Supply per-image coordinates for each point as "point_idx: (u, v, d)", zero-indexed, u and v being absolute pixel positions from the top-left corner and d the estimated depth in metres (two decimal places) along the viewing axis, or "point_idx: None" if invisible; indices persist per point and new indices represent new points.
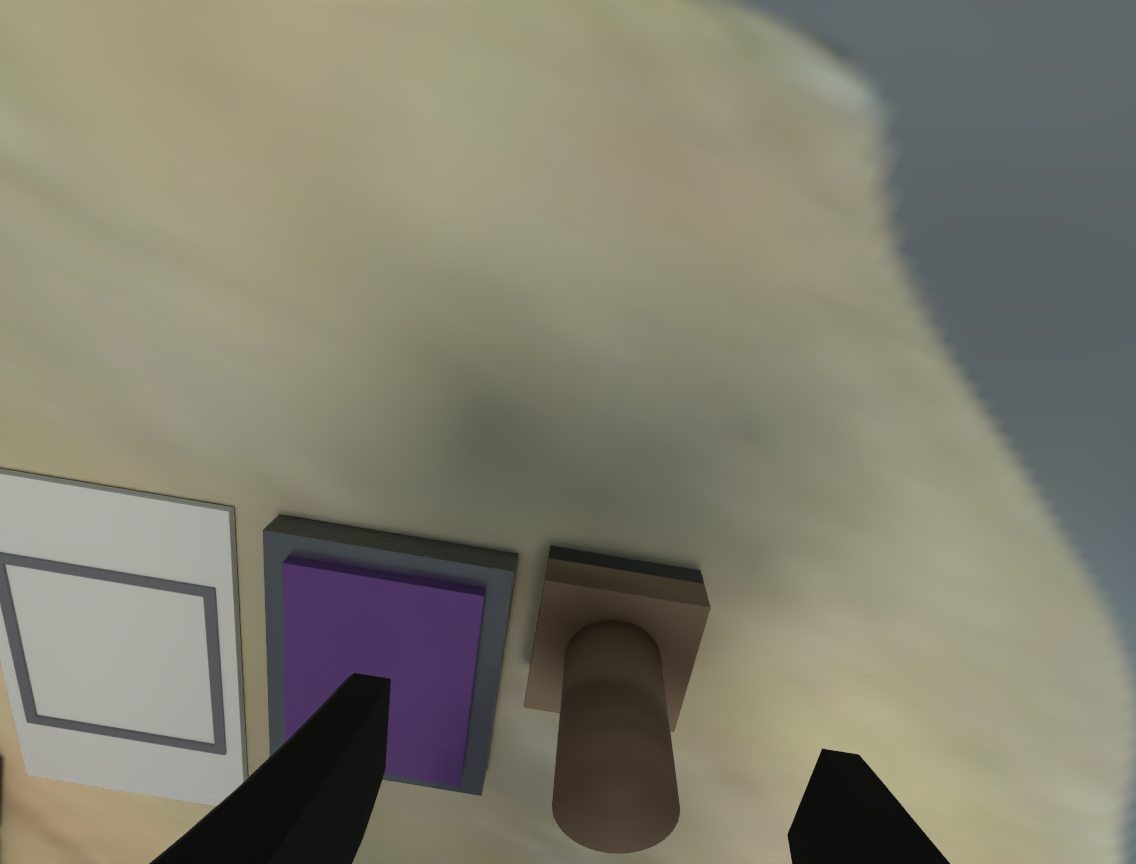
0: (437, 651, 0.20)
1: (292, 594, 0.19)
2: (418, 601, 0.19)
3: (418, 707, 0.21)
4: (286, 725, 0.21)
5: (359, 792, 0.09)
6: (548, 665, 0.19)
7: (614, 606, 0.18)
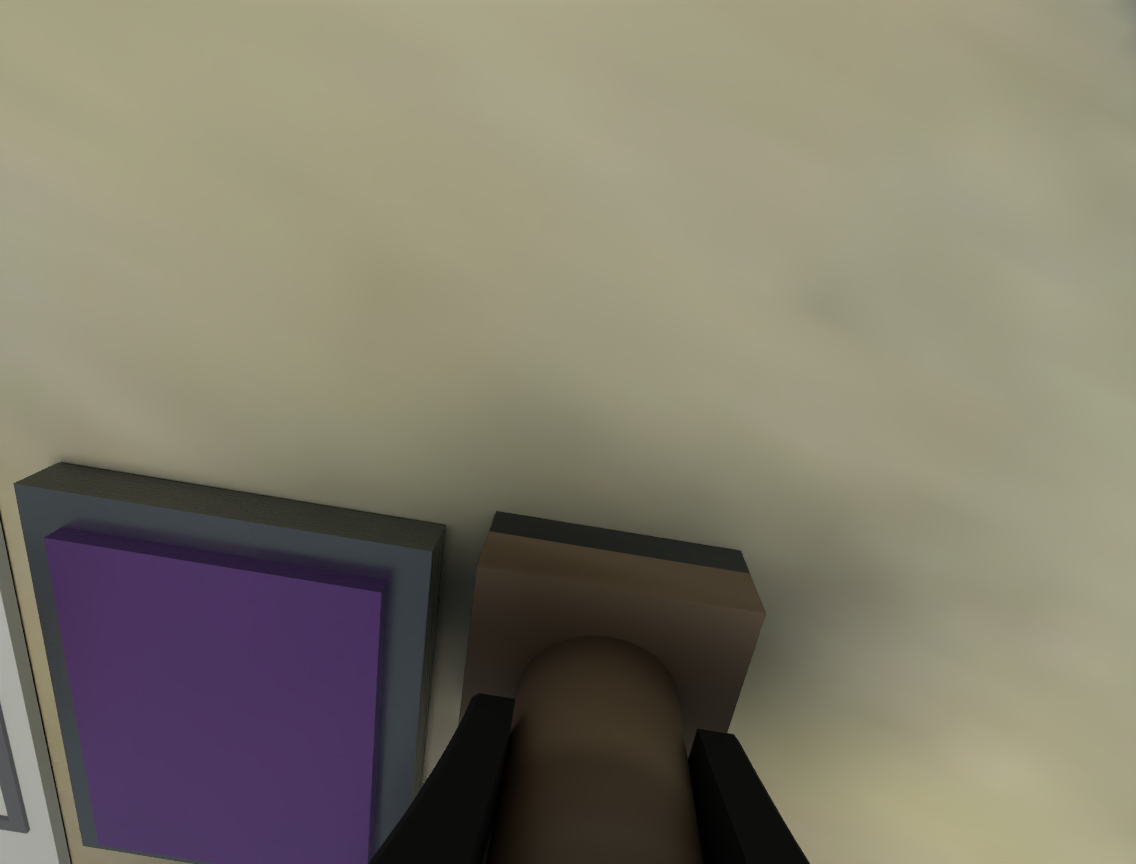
0: (313, 683, 0.12)
1: (69, 591, 0.12)
2: (273, 601, 0.12)
3: (291, 770, 0.13)
4: (91, 797, 0.14)
5: None
6: None
7: (597, 612, 0.10)
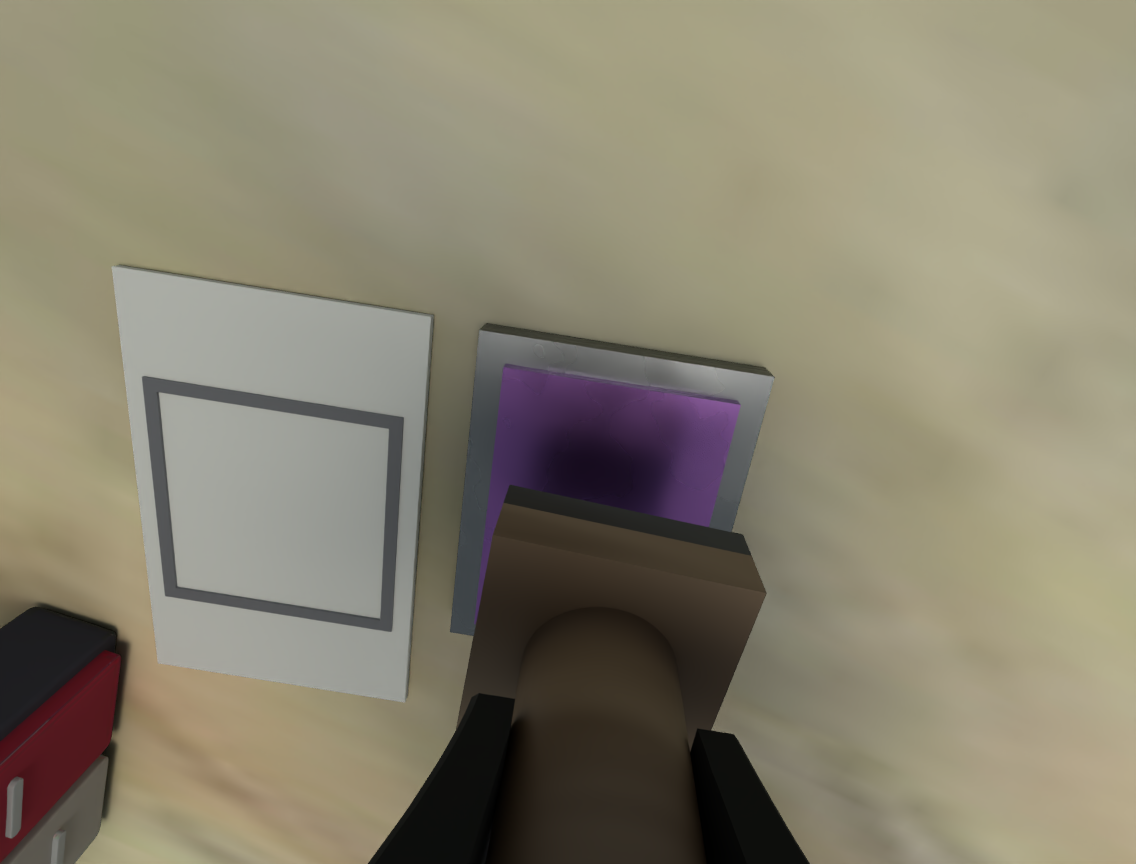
0: (674, 480, 0.17)
1: (510, 409, 0.16)
2: (660, 414, 0.16)
3: None
4: (480, 581, 0.18)
5: None
6: (495, 675, 0.12)
7: (606, 584, 0.11)
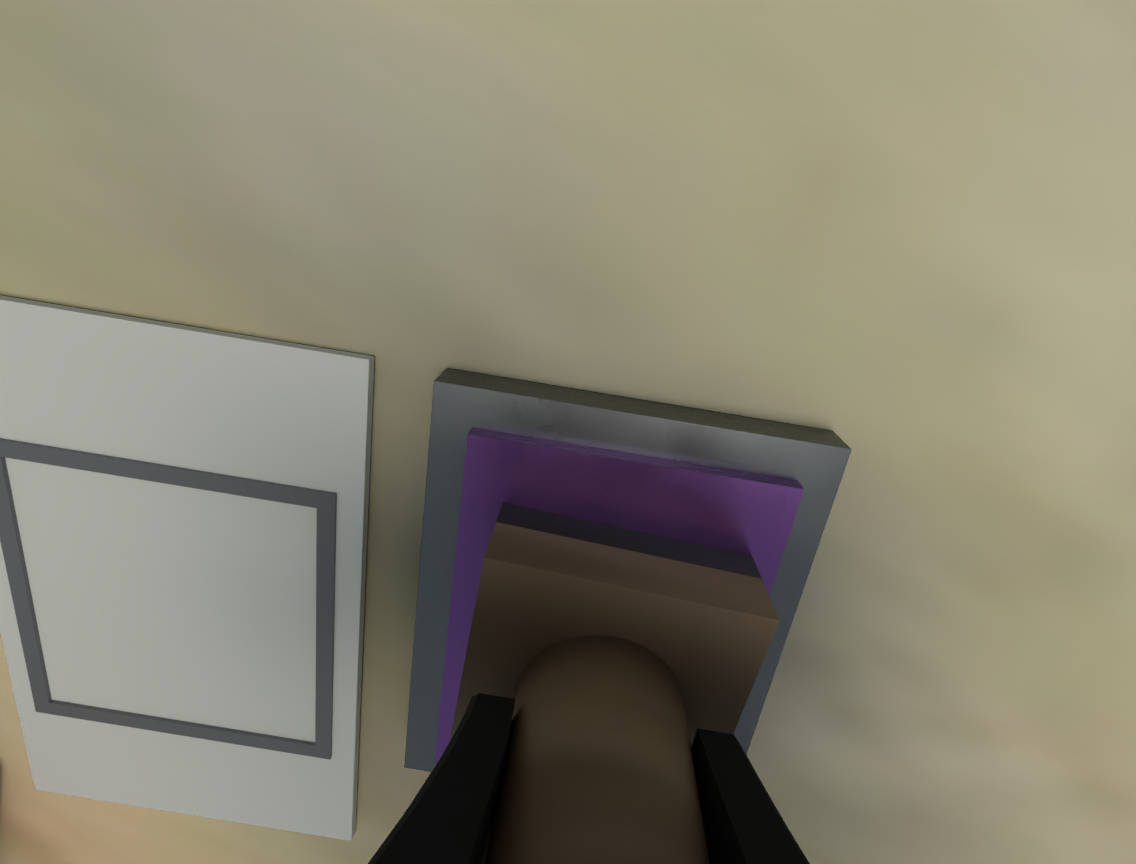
0: None
1: (477, 491, 0.12)
2: (689, 500, 0.12)
3: None
4: (442, 711, 0.14)
5: None
6: None
7: (606, 611, 0.10)
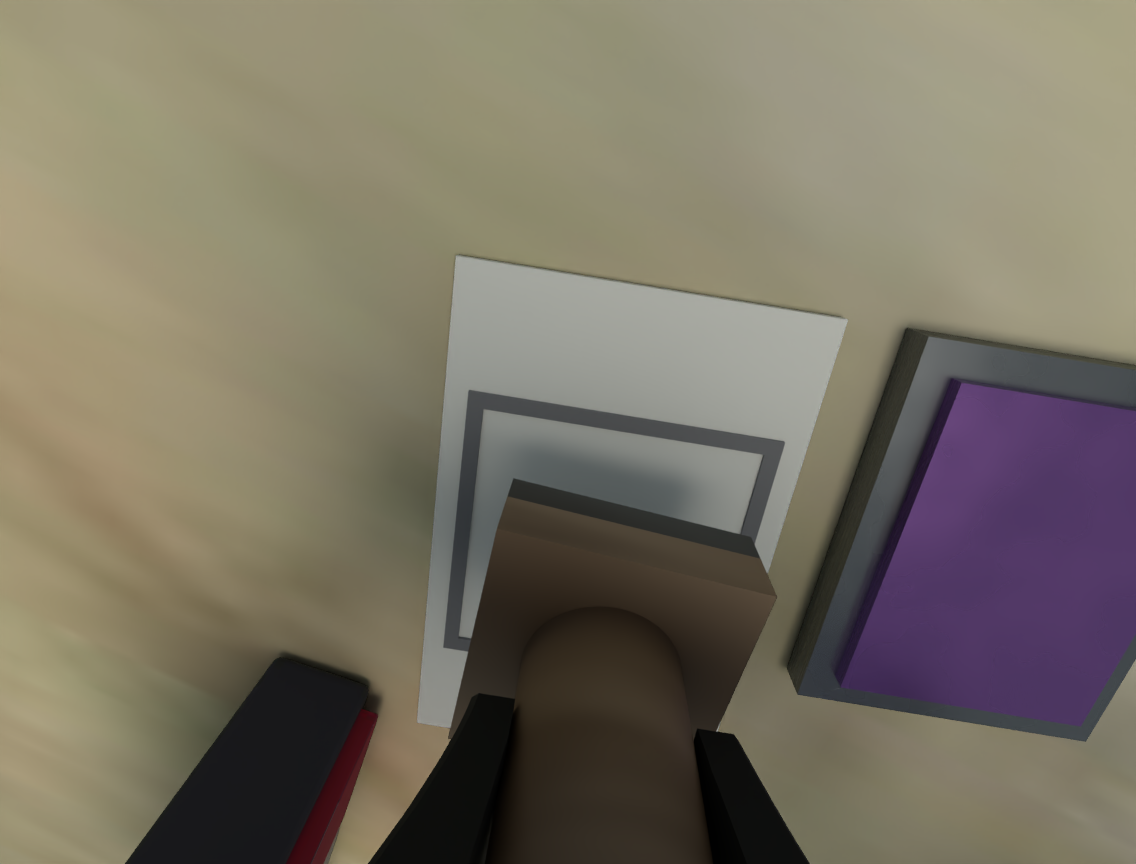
0: None
1: (956, 434, 0.13)
2: None
3: (1073, 608, 0.15)
4: (862, 639, 0.15)
5: None
6: (493, 674, 0.11)
7: (611, 583, 0.11)
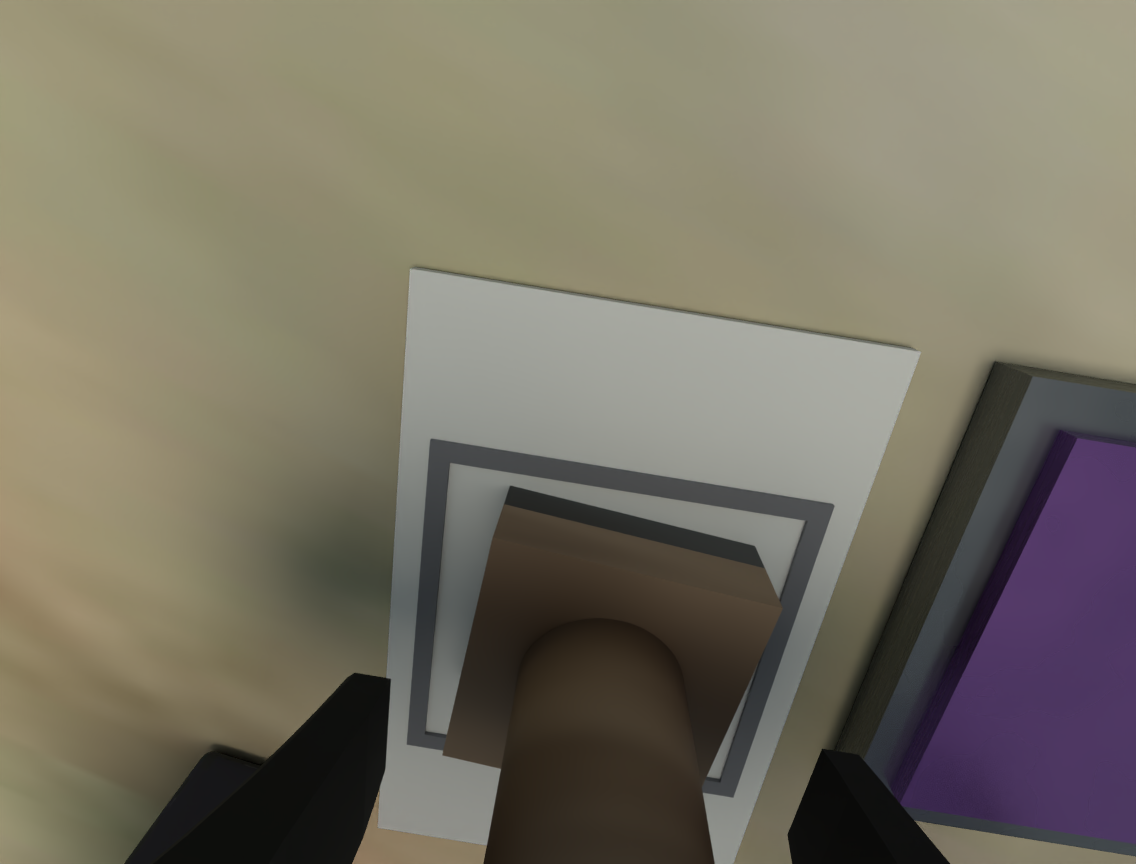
0: None
1: (1065, 503, 0.10)
2: None
3: None
4: (929, 750, 0.12)
5: (359, 792, 0.09)
6: (488, 689, 0.11)
7: (612, 594, 0.10)
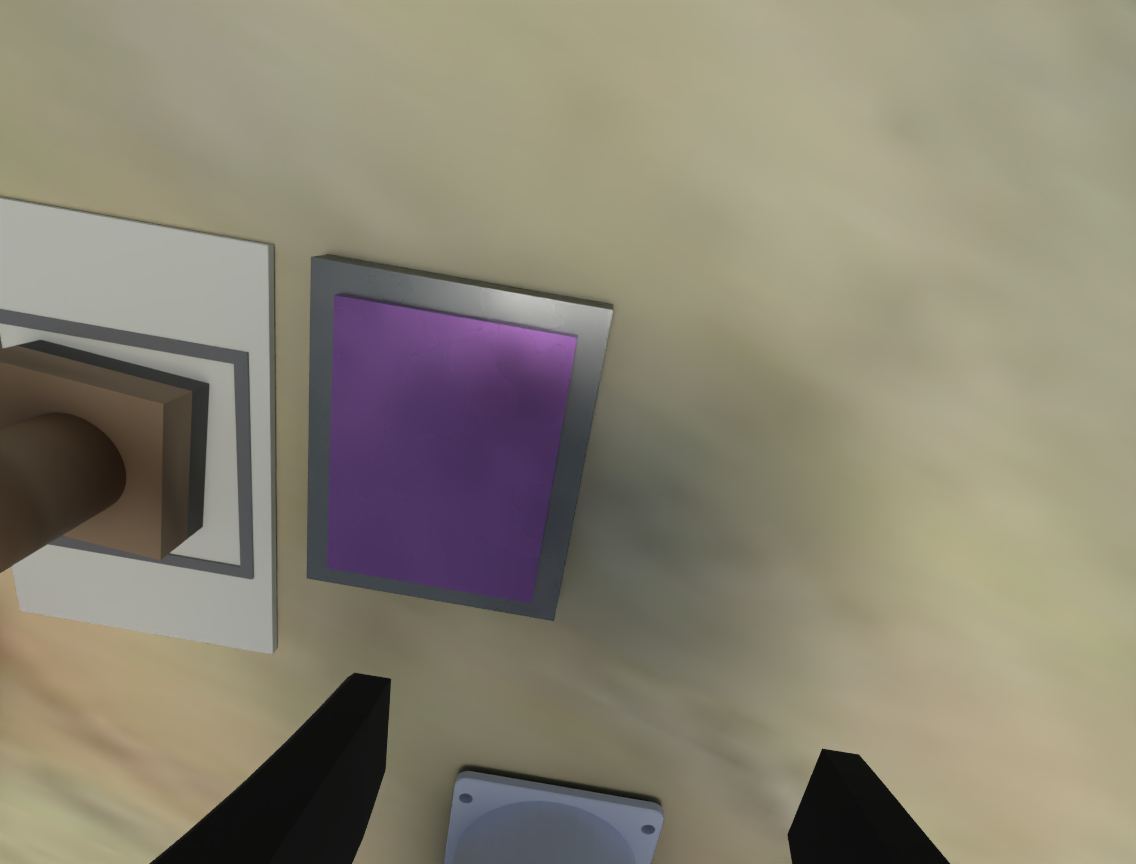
0: (516, 417, 0.17)
1: (344, 340, 0.16)
2: (496, 346, 0.16)
3: (488, 495, 0.17)
4: (329, 523, 0.18)
5: (359, 792, 0.09)
6: None
7: (58, 395, 0.16)
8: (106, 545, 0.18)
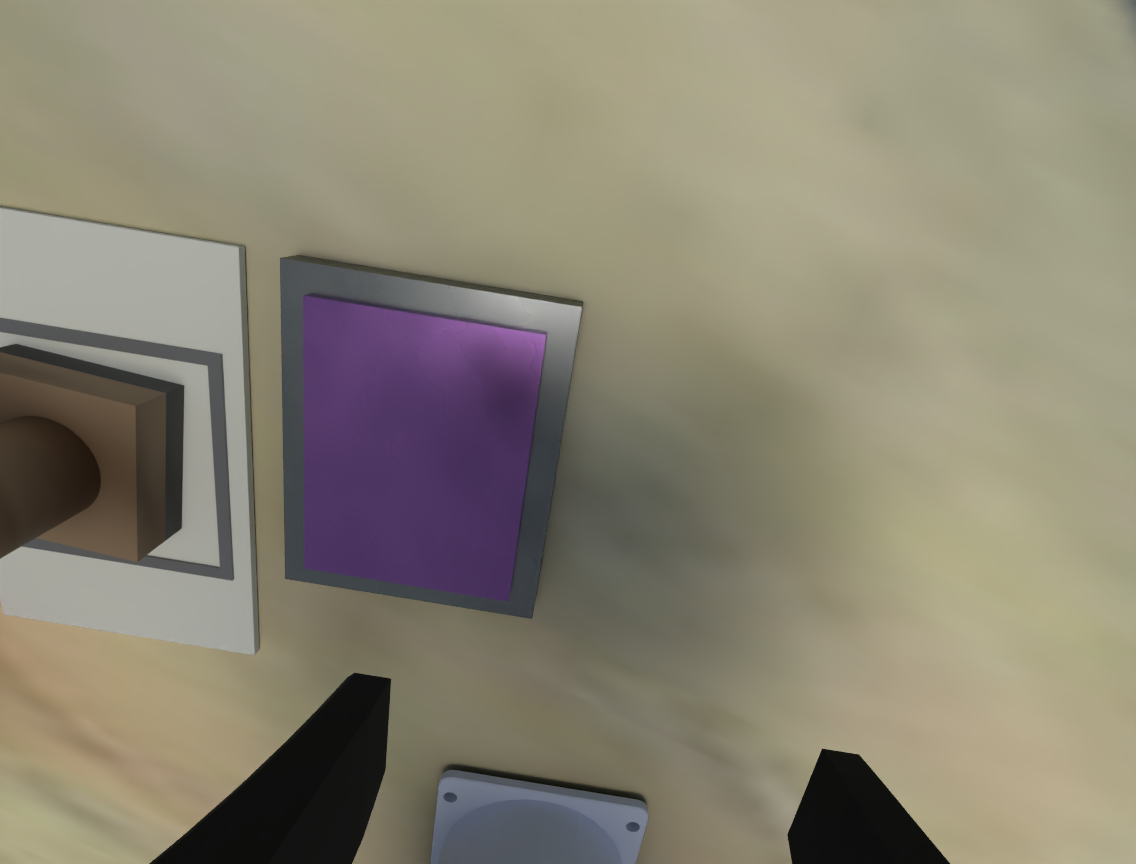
0: (487, 415, 0.17)
1: (315, 340, 0.16)
2: (466, 345, 0.16)
3: (462, 494, 0.17)
4: (305, 523, 0.18)
5: (359, 792, 0.09)
6: None
7: (31, 398, 0.16)
8: (83, 547, 0.18)
